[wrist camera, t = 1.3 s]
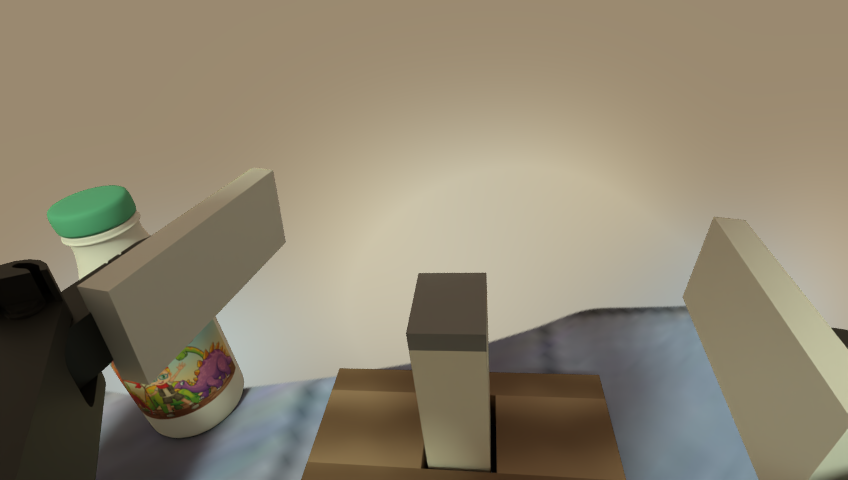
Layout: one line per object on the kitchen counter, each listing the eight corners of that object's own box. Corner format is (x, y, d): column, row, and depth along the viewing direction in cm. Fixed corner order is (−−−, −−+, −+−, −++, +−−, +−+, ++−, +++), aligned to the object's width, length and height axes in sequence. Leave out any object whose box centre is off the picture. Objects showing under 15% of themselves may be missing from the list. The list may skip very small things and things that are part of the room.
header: (626, 547, 27) (635, 518, 25) (309, 522, 30) (296, 493, 28) (593, 405, 35) (598, 375, 33) (347, 396, 38) (339, 368, 36)
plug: (491, 496, 30) (485, 334, 22) (432, 492, 31) (406, 333, 23) (490, 429, 34) (486, 272, 26) (438, 427, 35) (418, 273, 27)
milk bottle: (149, 393, 41) (21, 197, 30) (235, 354, 44) (147, 163, 33) (157, 459, 35) (2, 246, 24) (256, 409, 38) (157, 200, 27)
